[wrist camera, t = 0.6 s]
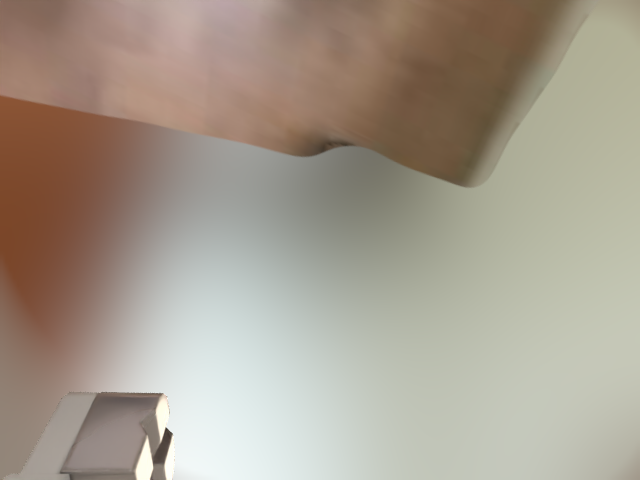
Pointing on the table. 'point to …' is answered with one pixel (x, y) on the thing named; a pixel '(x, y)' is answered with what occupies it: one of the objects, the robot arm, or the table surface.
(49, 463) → the robot arm
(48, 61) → the table surface
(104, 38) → the table surface
